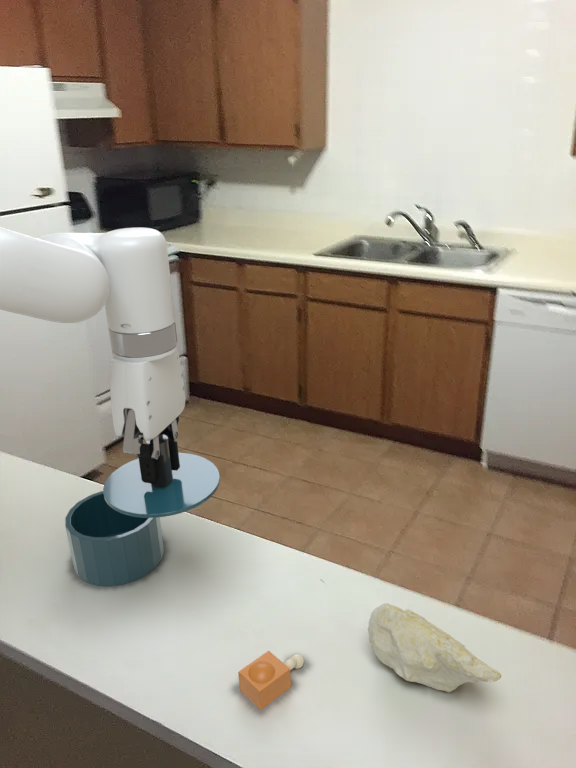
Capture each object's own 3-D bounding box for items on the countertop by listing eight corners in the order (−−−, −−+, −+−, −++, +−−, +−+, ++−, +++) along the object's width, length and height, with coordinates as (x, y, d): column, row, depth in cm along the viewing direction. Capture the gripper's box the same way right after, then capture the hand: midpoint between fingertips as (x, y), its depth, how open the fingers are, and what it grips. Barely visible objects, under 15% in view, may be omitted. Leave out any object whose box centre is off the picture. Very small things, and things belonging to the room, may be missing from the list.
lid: (189, 531, 77) (183, 478, 74) (80, 511, 81) (71, 460, 78) (237, 467, 89) (234, 420, 86) (141, 453, 94) (135, 407, 91)
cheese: (356, 644, 89) (349, 659, 75) (381, 593, 90) (378, 598, 76) (464, 706, 85) (477, 734, 71) (488, 652, 86) (506, 669, 72)
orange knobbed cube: (291, 653, 86) (290, 629, 84) (313, 671, 83) (312, 647, 81) (239, 691, 80) (237, 666, 79) (260, 711, 78) (259, 686, 76)
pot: (134, 595, 96) (127, 547, 93) (56, 577, 101) (46, 530, 97) (179, 539, 108) (173, 495, 105) (106, 525, 112) (99, 482, 109)
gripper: (150, 314, 85) (165, 441, 93) (74, 361, 71) (99, 506, 79) (203, 318, 83) (215, 448, 90) (136, 367, 69) (156, 516, 76)
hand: (161, 474), depth 84 cm, fingers closed on lid, 2 cm apart
